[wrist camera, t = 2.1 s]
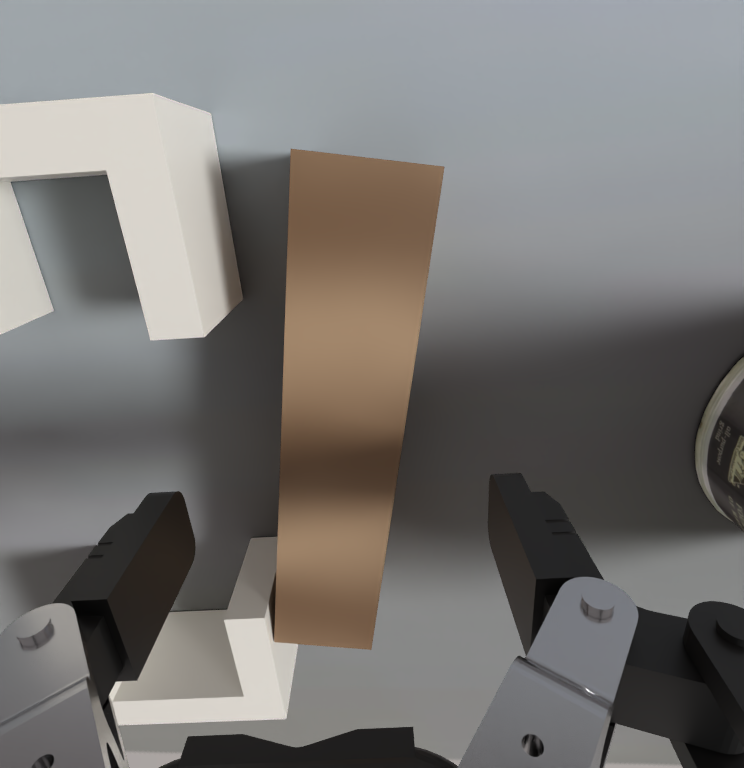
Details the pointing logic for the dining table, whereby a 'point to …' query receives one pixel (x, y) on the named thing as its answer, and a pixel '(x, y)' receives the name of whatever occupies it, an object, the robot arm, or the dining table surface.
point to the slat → (346, 383)
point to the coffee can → (724, 447)
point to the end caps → (164, 321)
